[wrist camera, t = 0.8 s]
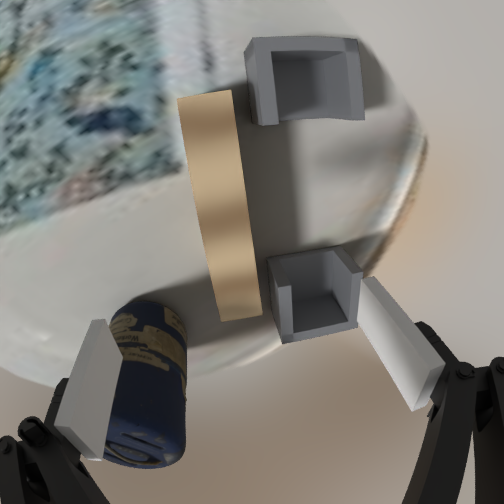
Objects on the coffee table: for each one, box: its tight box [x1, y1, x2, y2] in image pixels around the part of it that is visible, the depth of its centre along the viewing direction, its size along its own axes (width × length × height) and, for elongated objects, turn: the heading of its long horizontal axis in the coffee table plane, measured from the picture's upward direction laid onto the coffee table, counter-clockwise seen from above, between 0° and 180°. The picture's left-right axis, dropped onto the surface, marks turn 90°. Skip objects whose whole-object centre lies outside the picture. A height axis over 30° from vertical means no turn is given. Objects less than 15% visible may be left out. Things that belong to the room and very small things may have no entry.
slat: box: [177, 90, 263, 322], centre depth 27 cm, size 20×4×6 cm, turn 7°
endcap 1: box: [244, 36, 365, 126], centre depth 23 cm, size 7×8×6 cm
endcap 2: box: [267, 246, 363, 344], centre depth 32 cm, size 7×8×6 cm
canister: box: [103, 302, 187, 469], centre depth 27 cm, size 10×10×18 cm
